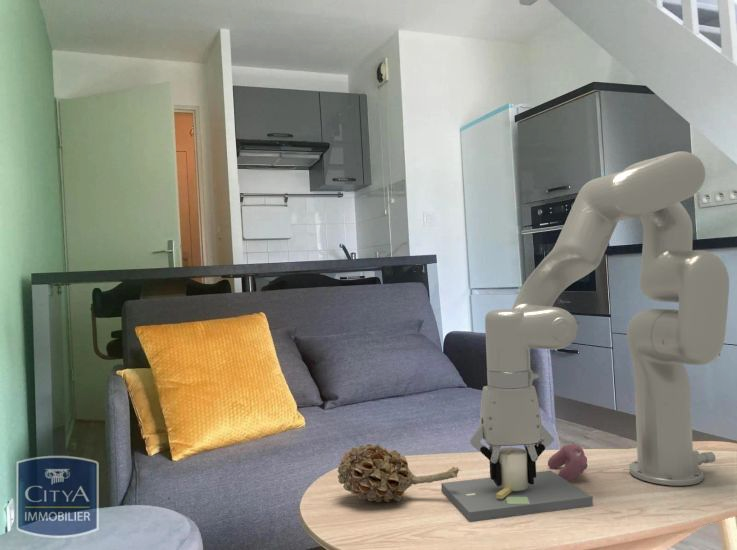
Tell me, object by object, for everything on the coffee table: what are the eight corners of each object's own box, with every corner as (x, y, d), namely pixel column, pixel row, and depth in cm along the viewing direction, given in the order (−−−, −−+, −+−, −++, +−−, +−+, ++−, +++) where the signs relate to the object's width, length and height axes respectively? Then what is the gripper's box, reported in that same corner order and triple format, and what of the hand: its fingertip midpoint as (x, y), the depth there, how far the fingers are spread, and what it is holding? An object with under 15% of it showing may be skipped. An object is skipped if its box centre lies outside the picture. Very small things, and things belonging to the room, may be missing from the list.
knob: (506, 482, 107) (504, 445, 107) (532, 487, 104) (531, 449, 104) (485, 497, 100) (483, 458, 100) (513, 503, 97) (511, 462, 97)
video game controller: (579, 492, 109) (595, 458, 109) (556, 481, 110) (572, 447, 109) (566, 474, 119) (580, 443, 119) (545, 464, 119) (559, 433, 119)
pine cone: (336, 513, 100) (334, 454, 100) (340, 492, 110) (338, 439, 110) (466, 509, 100) (463, 450, 100) (458, 488, 109) (456, 435, 109)
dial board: (551, 478, 113) (550, 470, 113) (593, 505, 99) (592, 496, 99) (441, 491, 108) (441, 482, 108) (469, 521, 94) (469, 511, 94)
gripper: (549, 373, 108) (553, 473, 107) (457, 378, 107) (461, 477, 107) (564, 381, 100) (568, 487, 100) (465, 385, 100) (469, 492, 100)
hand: (513, 481), depth 104 cm, fingers closed on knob, 5 cm apart
